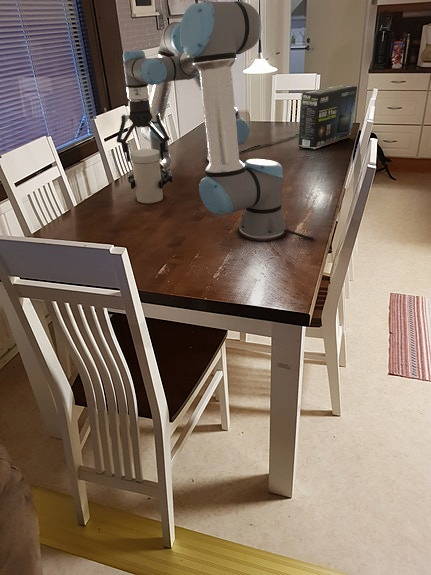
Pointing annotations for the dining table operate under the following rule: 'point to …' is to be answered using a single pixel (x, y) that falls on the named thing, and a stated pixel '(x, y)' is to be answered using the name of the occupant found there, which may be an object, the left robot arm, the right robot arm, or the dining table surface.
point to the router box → (326, 115)
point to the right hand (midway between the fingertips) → (145, 160)
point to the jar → (147, 181)
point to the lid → (145, 155)
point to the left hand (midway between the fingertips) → (146, 185)
